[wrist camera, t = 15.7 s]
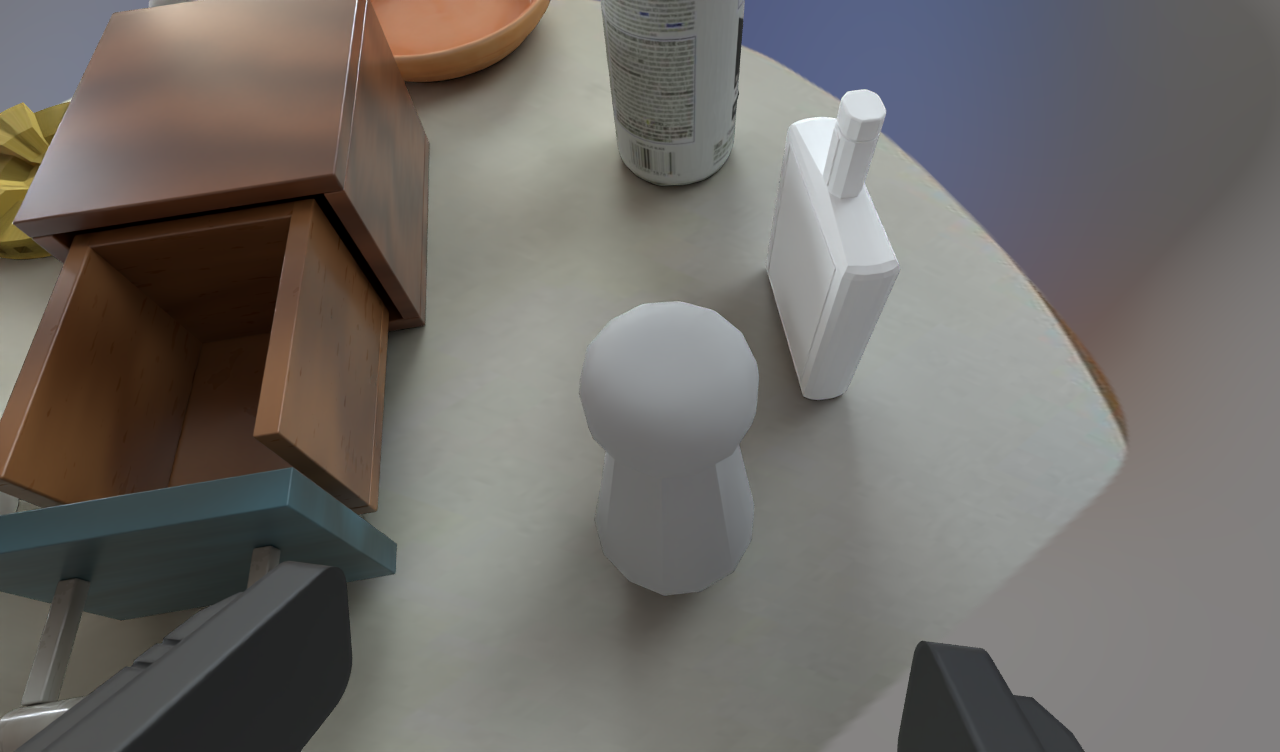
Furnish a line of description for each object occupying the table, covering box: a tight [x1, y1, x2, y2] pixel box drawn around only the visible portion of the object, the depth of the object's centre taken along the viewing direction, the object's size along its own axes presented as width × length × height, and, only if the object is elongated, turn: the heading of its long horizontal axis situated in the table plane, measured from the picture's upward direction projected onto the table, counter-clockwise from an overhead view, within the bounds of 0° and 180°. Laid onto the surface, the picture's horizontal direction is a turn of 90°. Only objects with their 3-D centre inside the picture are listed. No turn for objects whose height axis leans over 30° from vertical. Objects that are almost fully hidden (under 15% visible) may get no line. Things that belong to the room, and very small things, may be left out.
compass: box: [0, 102, 70, 259], centre depth 38 cm, size 12×12×2 cm
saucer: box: [370, 0, 550, 82], centre depth 43 cm, size 16×16×3 cm
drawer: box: [0, 199, 397, 752], centre depth 23 cm, size 17×10×8 cm, turn 9°
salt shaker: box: [579, 301, 759, 596], centre depth 20 cm, size 6×6×13 cm
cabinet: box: [13, 0, 429, 331], centre depth 31 cm, size 14×12×10 cm
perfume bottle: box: [766, 89, 900, 400], centre depth 25 cm, size 8×2×12 cm, turn 7°
